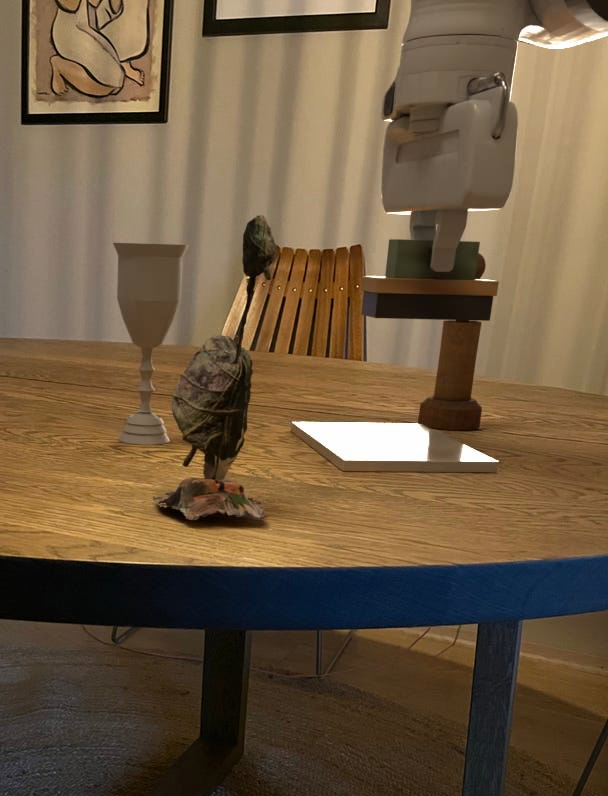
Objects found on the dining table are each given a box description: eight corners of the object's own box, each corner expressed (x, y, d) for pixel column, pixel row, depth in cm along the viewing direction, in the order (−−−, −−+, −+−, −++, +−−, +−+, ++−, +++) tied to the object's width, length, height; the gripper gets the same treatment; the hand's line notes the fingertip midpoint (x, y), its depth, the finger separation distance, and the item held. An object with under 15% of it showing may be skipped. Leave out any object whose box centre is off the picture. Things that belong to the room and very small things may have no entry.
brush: (472, 317, 91) (483, 242, 89) (493, 321, 87) (505, 242, 85) (358, 314, 90) (365, 238, 88) (373, 318, 86) (382, 238, 84)
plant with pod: (253, 493, 81) (273, 218, 74) (273, 531, 70) (299, 214, 63) (150, 490, 81) (160, 214, 73) (154, 528, 70) (166, 210, 63)
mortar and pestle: (408, 425, 114) (430, 251, 107) (429, 418, 119) (451, 251, 112) (468, 433, 110) (495, 253, 104) (486, 425, 115) (513, 253, 109)
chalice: (145, 449, 97) (152, 243, 90) (93, 439, 101) (96, 242, 94) (194, 440, 102) (204, 245, 95) (143, 431, 106) (149, 243, 99)
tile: (419, 433, 109) (421, 423, 109) (497, 472, 91) (499, 461, 90) (290, 431, 108) (291, 421, 108) (342, 471, 90) (343, 460, 89)
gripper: (552, 68, 73) (520, 276, 78) (445, 103, 92) (425, 268, 97) (466, 65, 72) (440, 274, 77) (376, 100, 91) (359, 266, 96)
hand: (430, 271), depth 87 cm, fingers closed on brush, 2 cm apart
